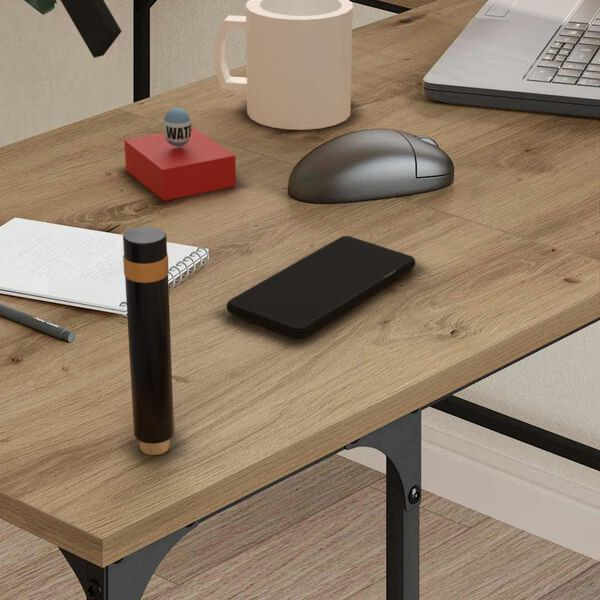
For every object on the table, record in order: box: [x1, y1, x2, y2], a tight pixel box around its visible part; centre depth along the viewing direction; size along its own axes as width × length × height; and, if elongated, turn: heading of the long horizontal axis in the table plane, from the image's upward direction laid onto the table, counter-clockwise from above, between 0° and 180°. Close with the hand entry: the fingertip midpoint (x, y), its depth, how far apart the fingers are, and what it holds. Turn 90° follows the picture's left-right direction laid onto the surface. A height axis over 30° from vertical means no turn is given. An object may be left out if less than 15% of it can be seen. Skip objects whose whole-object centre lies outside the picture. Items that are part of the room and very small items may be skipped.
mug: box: [212, 0, 354, 131], centre depth 137 cm, size 14×10×11 cm
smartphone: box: [226, 235, 416, 339], centre depth 103 cm, size 7×1×15 cm
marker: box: [122, 226, 175, 456], centre depth 82 cm, size 2×2×14 cm
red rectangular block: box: [123, 107, 237, 202], centre depth 122 cm, size 8×7×6 cm
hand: (15, 68), depth 82 cm, fingers open, 13 cm apart
